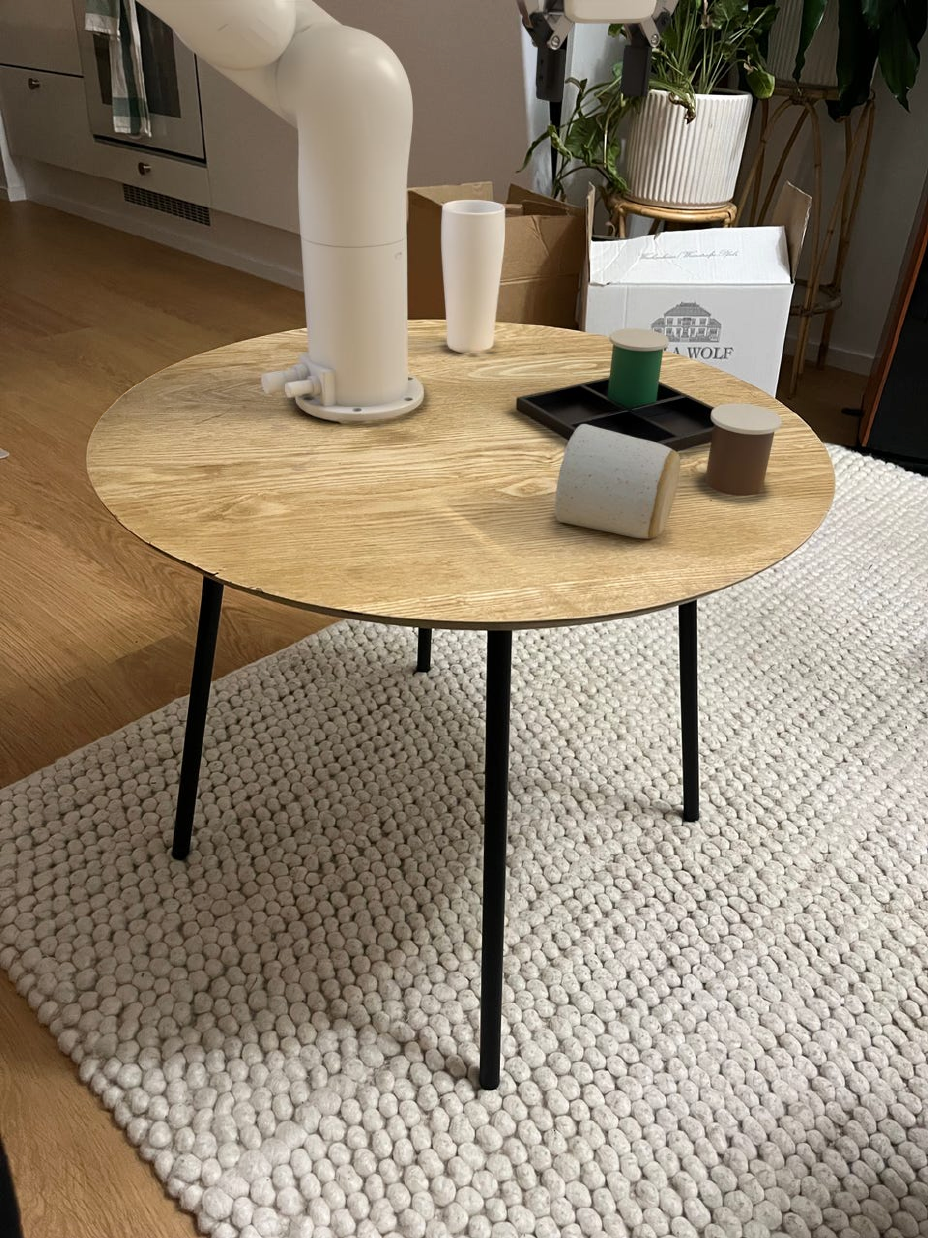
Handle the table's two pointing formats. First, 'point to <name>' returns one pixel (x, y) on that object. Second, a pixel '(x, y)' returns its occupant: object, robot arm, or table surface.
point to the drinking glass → (471, 271)
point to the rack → (622, 414)
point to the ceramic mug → (616, 483)
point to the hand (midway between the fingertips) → (592, 97)
